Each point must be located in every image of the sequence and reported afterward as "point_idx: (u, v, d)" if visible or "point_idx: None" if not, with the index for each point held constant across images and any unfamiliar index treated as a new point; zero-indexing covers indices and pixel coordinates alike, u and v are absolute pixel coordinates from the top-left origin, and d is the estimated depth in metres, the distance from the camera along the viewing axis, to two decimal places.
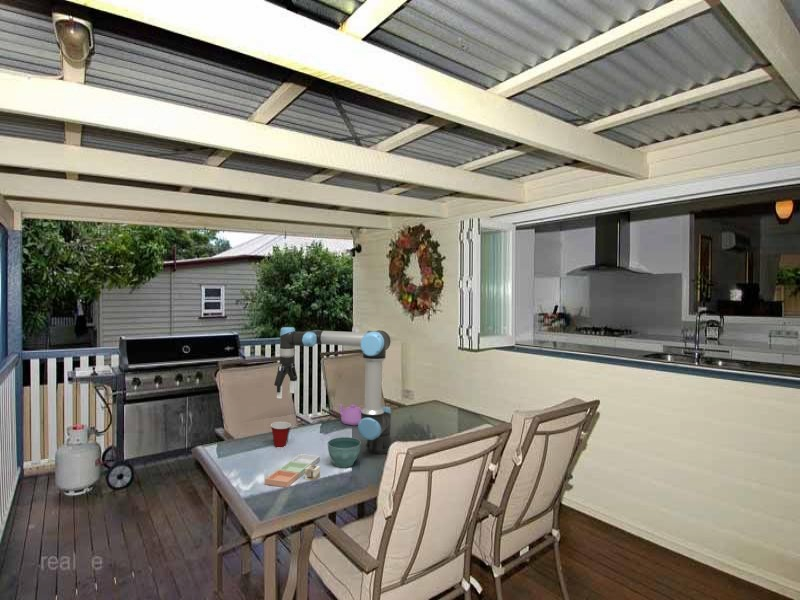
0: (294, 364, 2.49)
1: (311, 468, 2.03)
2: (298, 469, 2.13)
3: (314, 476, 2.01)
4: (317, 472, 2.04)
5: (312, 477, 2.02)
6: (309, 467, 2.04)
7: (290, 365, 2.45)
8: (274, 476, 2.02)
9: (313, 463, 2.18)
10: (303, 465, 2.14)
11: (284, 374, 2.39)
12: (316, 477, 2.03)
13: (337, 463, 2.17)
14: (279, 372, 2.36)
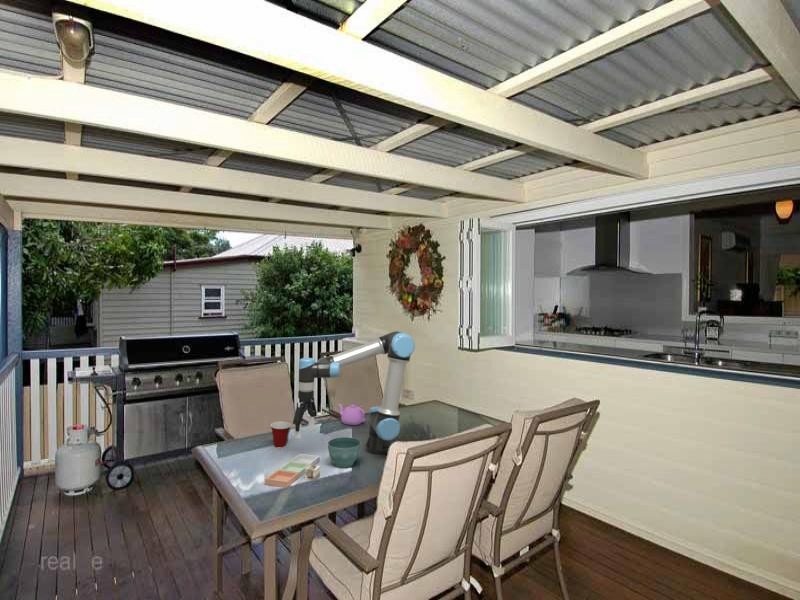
0: None
1: (311, 468, 2.03)
2: (298, 469, 2.13)
3: (314, 476, 2.01)
4: (317, 472, 2.04)
5: (312, 477, 2.02)
6: (309, 467, 2.04)
7: (309, 400, 2.22)
8: (274, 476, 2.02)
9: (313, 463, 2.18)
10: (303, 465, 2.14)
11: (303, 411, 2.16)
12: (316, 477, 2.03)
13: (337, 463, 2.17)
14: (298, 408, 2.13)
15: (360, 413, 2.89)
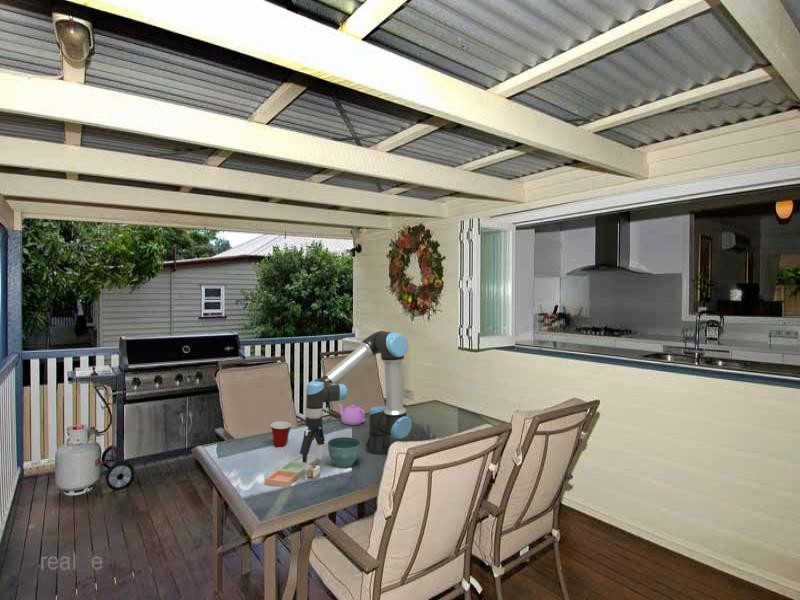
0: None
1: (311, 468, 2.03)
2: (298, 469, 2.13)
3: (314, 476, 2.01)
4: (317, 472, 2.04)
5: (312, 477, 2.02)
6: (309, 467, 2.04)
7: (317, 427, 2.06)
8: (274, 476, 2.02)
9: (313, 463, 2.18)
10: None
11: (311, 439, 2.00)
12: (316, 477, 2.03)
13: (337, 463, 2.17)
14: (305, 437, 1.97)
15: (360, 413, 2.89)
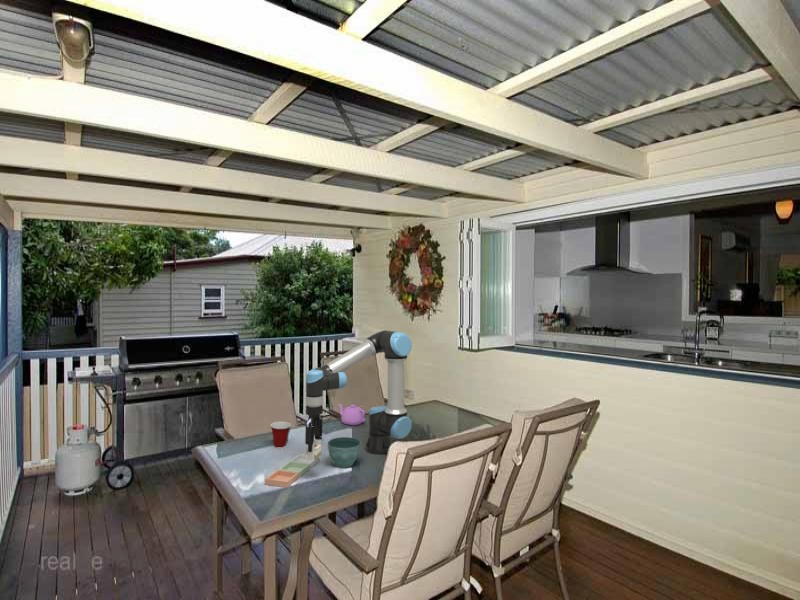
0: (322, 416, 2.10)
1: None
2: (298, 469, 2.13)
3: (315, 454, 2.02)
4: (318, 451, 2.04)
5: (314, 455, 2.02)
6: None
7: (318, 414, 2.06)
8: (274, 476, 2.02)
9: (313, 463, 2.18)
10: (303, 465, 2.14)
11: (313, 429, 2.01)
12: (317, 455, 2.03)
13: (337, 463, 2.17)
14: (307, 428, 1.98)
15: (360, 413, 2.89)
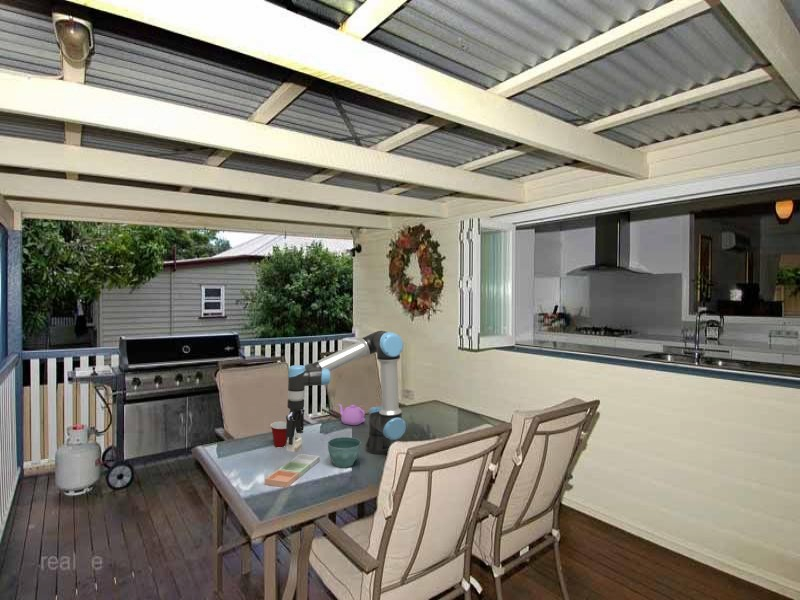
0: None
1: None
2: (298, 469, 2.13)
3: (296, 447, 2.08)
4: (299, 444, 2.10)
5: None
6: None
7: (300, 408, 2.12)
8: (274, 476, 2.02)
9: (313, 463, 2.18)
10: (303, 465, 2.14)
11: (294, 422, 2.07)
12: (298, 448, 2.09)
13: (337, 463, 2.17)
14: (288, 422, 2.04)
15: (360, 413, 2.89)
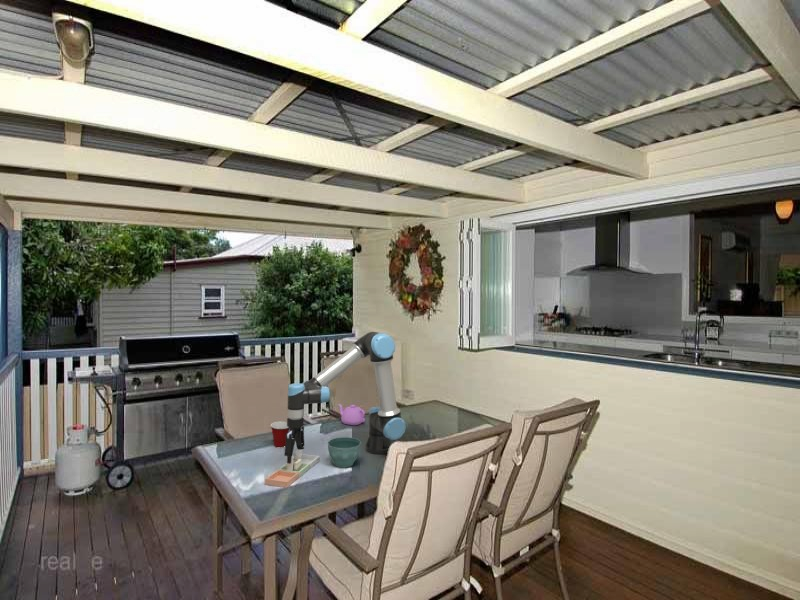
0: (303, 427, 2.16)
1: None
2: None
3: (295, 469, 2.08)
4: (299, 465, 2.10)
5: (294, 470, 2.08)
6: None
7: (299, 427, 2.12)
8: (274, 476, 2.02)
9: (313, 463, 2.18)
10: (303, 465, 2.14)
11: (293, 441, 2.07)
12: (297, 470, 2.09)
13: (337, 463, 2.17)
14: (287, 440, 2.04)
15: (360, 413, 2.89)
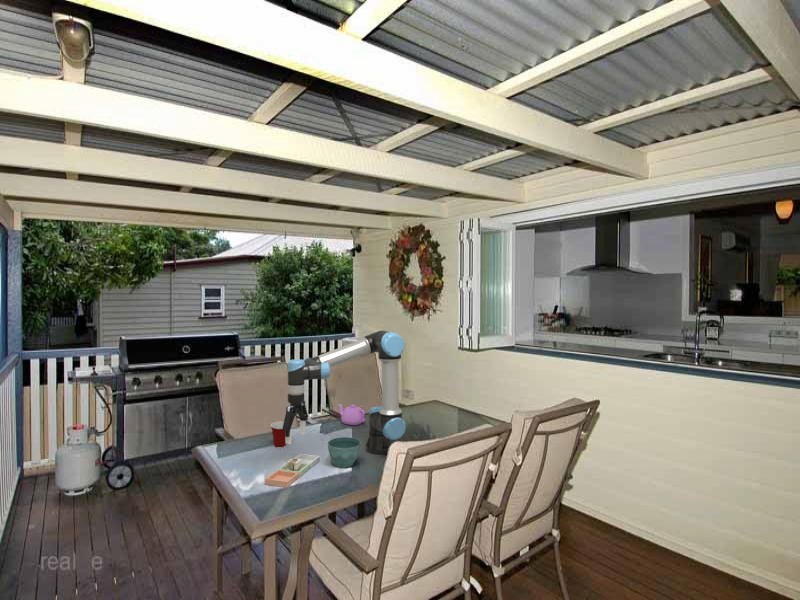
0: (304, 401, 2.16)
1: (292, 461, 2.09)
2: None
3: (295, 469, 2.08)
4: (299, 465, 2.10)
5: (294, 470, 2.08)
6: (291, 460, 2.10)
7: (300, 403, 2.12)
8: (274, 476, 2.02)
9: (313, 463, 2.18)
10: (303, 465, 2.14)
11: (293, 415, 2.06)
12: (297, 470, 2.09)
13: (337, 463, 2.17)
14: (287, 413, 2.03)
15: (360, 413, 2.89)
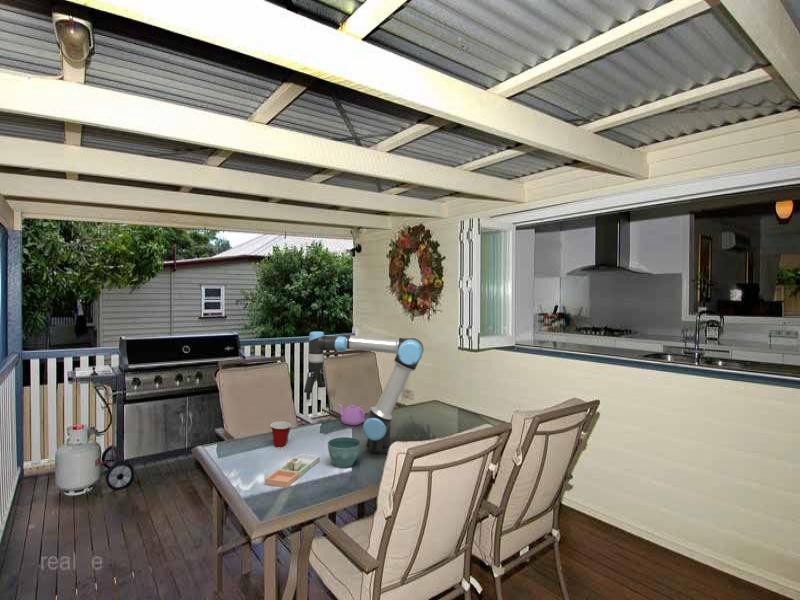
0: None
1: (292, 461, 2.09)
2: None
3: (295, 469, 2.08)
4: (299, 465, 2.10)
5: (294, 470, 2.08)
6: (291, 460, 2.10)
7: (319, 371, 2.36)
8: (274, 476, 2.02)
9: (313, 463, 2.18)
10: (303, 465, 2.14)
11: (313, 380, 2.30)
12: (297, 470, 2.09)
13: (337, 463, 2.17)
14: (308, 378, 2.27)
15: (360, 413, 2.89)
